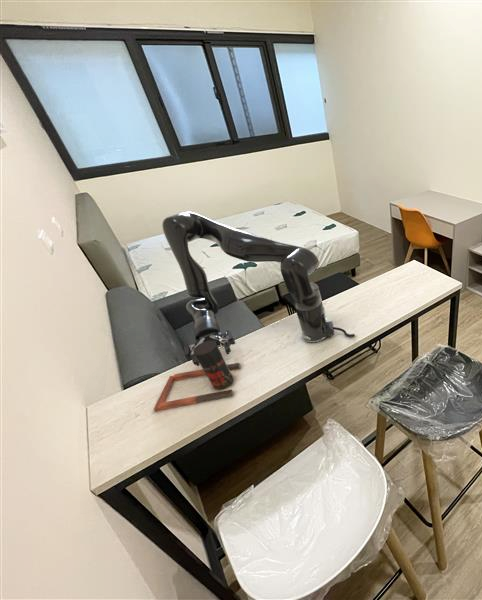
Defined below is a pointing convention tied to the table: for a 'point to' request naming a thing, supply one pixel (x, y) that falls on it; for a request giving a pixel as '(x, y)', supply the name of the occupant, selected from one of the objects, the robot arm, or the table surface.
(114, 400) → the table surface
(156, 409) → the brown angled rods
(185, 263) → the robot arm
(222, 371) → the deodorant
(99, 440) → the table surface
